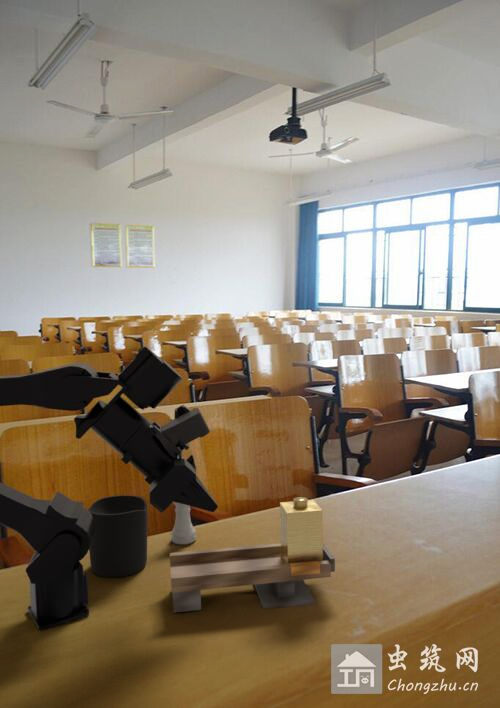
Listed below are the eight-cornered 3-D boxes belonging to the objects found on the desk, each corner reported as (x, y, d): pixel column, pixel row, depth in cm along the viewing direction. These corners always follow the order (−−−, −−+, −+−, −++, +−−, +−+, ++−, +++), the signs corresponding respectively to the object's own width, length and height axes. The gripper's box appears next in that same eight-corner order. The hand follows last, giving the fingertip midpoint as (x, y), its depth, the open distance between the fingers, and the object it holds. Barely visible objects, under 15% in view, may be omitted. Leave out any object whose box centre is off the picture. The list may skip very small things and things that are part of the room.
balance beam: (172, 618, 74) (171, 575, 74) (170, 586, 83) (169, 547, 82) (336, 601, 77) (335, 559, 77) (317, 572, 86) (317, 534, 86)
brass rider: (288, 569, 78) (286, 506, 78) (281, 556, 83) (279, 495, 82) (323, 566, 79) (322, 503, 79) (314, 553, 84) (313, 493, 83)
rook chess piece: (192, 546, 97) (190, 500, 97) (167, 544, 98) (165, 499, 98) (199, 536, 102) (198, 492, 101) (175, 535, 103) (174, 491, 102)
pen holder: (161, 564, 91) (159, 502, 90) (111, 586, 84) (108, 519, 83) (126, 549, 97) (123, 491, 96) (76, 568, 90) (73, 506, 89)
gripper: (174, 399, 67) (268, 484, 70) (171, 382, 86) (245, 450, 88) (109, 469, 67) (206, 553, 69) (119, 437, 85) (195, 503, 88)
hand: (215, 508), depth 79 cm, fingers closed
